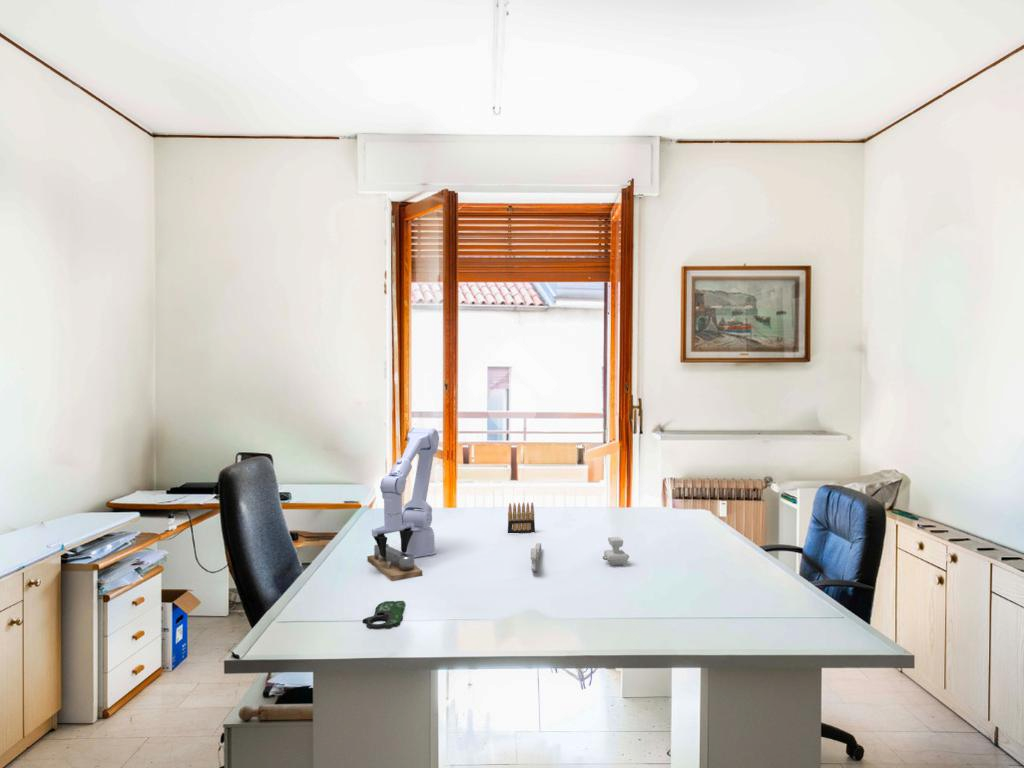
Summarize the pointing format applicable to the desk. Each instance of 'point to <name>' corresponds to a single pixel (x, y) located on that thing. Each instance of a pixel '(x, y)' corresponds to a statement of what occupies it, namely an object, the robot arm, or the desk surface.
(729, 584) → the desk surface
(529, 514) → the ammunition clip
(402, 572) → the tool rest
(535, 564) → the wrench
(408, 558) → the grey elongated piece
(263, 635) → the desk surface
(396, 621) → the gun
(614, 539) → the stamp
